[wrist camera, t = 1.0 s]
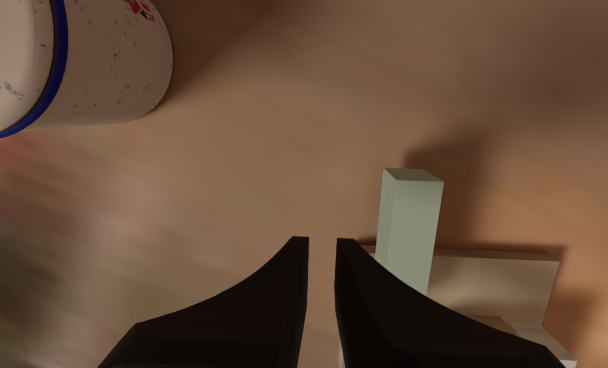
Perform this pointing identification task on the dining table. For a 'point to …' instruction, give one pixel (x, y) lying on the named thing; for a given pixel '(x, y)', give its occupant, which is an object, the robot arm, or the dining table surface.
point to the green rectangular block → (408, 224)
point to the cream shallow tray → (495, 291)
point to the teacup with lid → (80, 62)
